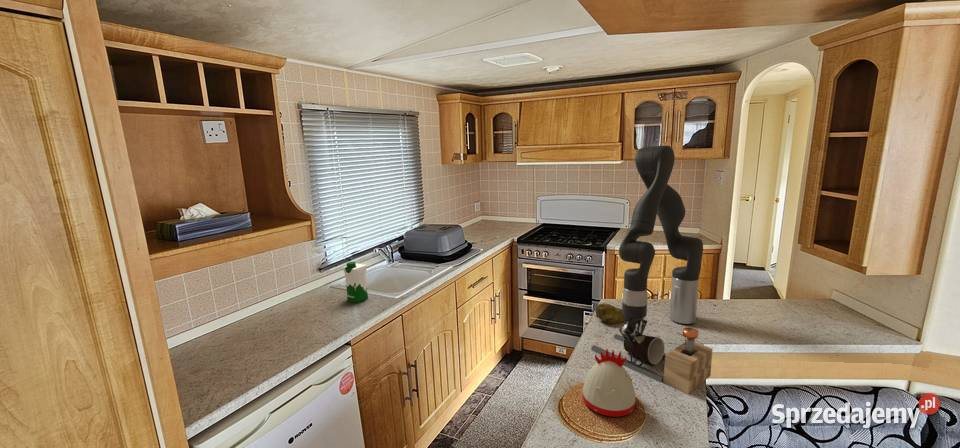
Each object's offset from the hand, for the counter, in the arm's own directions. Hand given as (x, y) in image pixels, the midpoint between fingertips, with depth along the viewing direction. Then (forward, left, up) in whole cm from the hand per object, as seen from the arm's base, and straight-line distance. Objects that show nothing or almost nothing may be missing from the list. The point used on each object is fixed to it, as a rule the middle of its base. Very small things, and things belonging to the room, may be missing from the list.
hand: (632, 350), depth 131 cm
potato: (-17, -20, -2) cm, 26 cm away
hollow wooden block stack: (0, +18, -2) cm, 18 cm away
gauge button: (0, +18, +7) cm, 19 cm away
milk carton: (+53, -110, -2) cm, 122 cm away
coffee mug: (-1, -3, +1) cm, 3 cm away
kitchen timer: (+26, +9, -2) cm, 28 cm away
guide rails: (0, +1, -2) cm, 2 cm away
